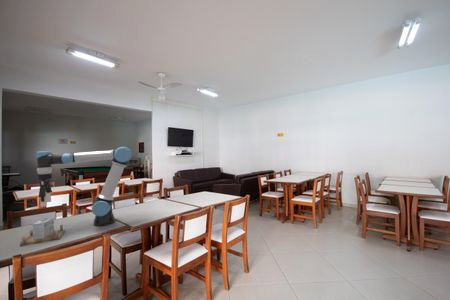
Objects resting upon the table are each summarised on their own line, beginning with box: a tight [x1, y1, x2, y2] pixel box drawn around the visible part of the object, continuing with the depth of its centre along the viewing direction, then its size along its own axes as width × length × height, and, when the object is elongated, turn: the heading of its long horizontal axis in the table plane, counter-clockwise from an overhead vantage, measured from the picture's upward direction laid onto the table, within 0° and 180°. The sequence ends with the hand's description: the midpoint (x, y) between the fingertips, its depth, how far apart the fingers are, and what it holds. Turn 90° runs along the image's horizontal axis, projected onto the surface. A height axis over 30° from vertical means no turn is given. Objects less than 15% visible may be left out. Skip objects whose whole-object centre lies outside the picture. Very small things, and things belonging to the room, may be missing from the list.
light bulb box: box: [32, 217, 55, 240], centre depth 140 cm, size 11×7×11 cm, turn 11°
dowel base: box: [19, 224, 66, 247], centre depth 140 cm, size 20×15×6 cm
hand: (46, 204), depth 142 cm, fingers open, 13 cm apart
